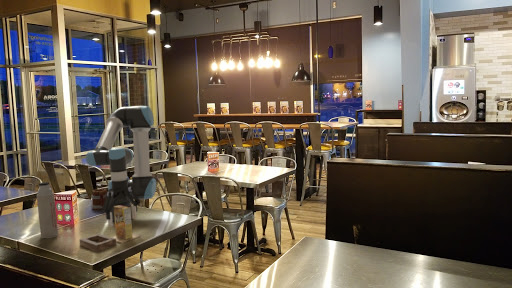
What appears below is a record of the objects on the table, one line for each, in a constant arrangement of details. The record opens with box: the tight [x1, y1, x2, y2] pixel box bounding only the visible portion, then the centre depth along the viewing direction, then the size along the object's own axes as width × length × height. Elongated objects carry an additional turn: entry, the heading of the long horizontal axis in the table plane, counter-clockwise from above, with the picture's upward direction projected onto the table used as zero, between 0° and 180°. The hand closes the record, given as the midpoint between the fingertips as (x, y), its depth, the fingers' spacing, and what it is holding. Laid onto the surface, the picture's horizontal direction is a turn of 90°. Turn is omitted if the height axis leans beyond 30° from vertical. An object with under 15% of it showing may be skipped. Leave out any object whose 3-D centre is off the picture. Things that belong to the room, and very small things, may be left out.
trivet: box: [110, 233, 141, 244], centre depth 209 cm, size 11×11×1 cm
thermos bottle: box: [36, 181, 59, 239], centre depth 217 cm, size 8×8×28 cm
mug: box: [90, 188, 108, 211], centre depth 270 cm, size 12×14×15 cm
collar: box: [79, 233, 117, 253], centre depth 200 cm, size 10×15×3 cm, turn 51°
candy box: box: [114, 205, 133, 239], centre depth 208 cm, size 9×4×15 cm, turn 52°
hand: (122, 222), depth 208 cm, fingers open, 13 cm apart
